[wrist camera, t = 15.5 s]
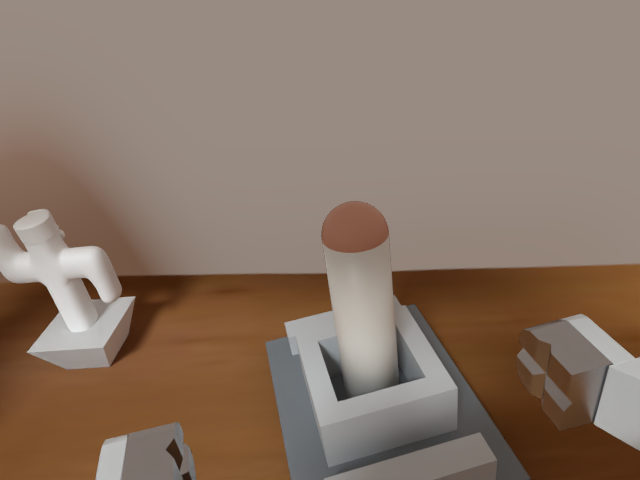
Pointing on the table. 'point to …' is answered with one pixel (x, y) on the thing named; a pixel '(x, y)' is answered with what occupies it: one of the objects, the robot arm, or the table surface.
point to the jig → (383, 411)
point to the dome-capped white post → (361, 296)
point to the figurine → (69, 293)
